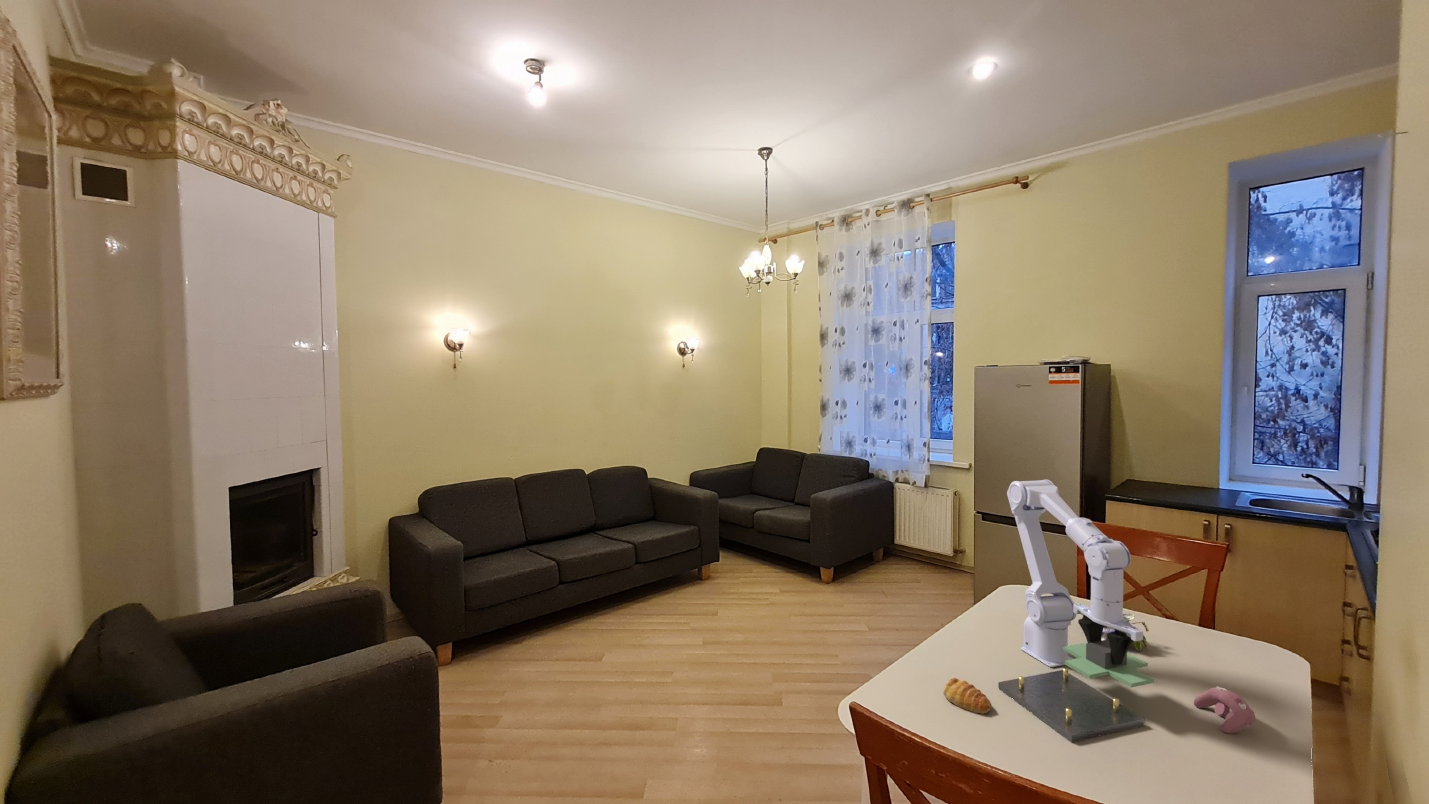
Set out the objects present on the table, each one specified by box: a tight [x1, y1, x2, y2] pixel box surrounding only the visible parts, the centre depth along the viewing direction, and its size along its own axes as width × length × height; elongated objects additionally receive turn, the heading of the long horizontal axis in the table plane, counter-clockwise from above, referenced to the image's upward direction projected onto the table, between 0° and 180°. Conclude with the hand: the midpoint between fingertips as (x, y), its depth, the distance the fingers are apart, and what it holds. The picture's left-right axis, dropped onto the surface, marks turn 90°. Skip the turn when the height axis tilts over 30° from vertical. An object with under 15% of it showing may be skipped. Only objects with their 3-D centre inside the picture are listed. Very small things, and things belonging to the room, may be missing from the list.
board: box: [1063, 640, 1155, 688], centre depth 121 cm, size 16×16×4 cm
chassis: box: [997, 667, 1145, 743], centre depth 118 cm, size 19×18×4 cm
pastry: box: [943, 677, 992, 715], centre depth 120 cm, size 9×7×4 cm
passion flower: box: [1101, 613, 1149, 652], centre depth 145 cm, size 11×11×12 cm
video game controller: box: [1193, 686, 1256, 734], centre depth 112 cm, size 10×5×7 cm, turn 169°
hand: (1105, 658), depth 121 cm, fingers closed on board, 4 cm apart
